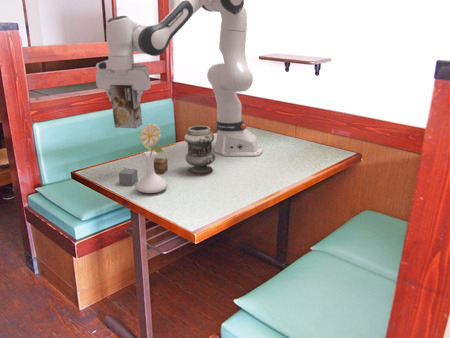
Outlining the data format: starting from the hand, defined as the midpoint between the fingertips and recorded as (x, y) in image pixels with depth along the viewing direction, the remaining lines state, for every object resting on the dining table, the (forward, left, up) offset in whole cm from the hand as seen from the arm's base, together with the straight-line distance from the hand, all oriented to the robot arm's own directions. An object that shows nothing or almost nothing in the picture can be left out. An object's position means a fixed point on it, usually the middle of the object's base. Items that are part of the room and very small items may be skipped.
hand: (125, 101), depth 155 cm
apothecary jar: (-26, -9, -29) cm, 40 cm away
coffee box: (0, -1, -10) cm, 10 cm away
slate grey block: (-3, +9, -29) cm, 31 cm away
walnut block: (-10, -5, -29) cm, 31 cm away
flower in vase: (-15, +14, -29) cm, 35 cm away
